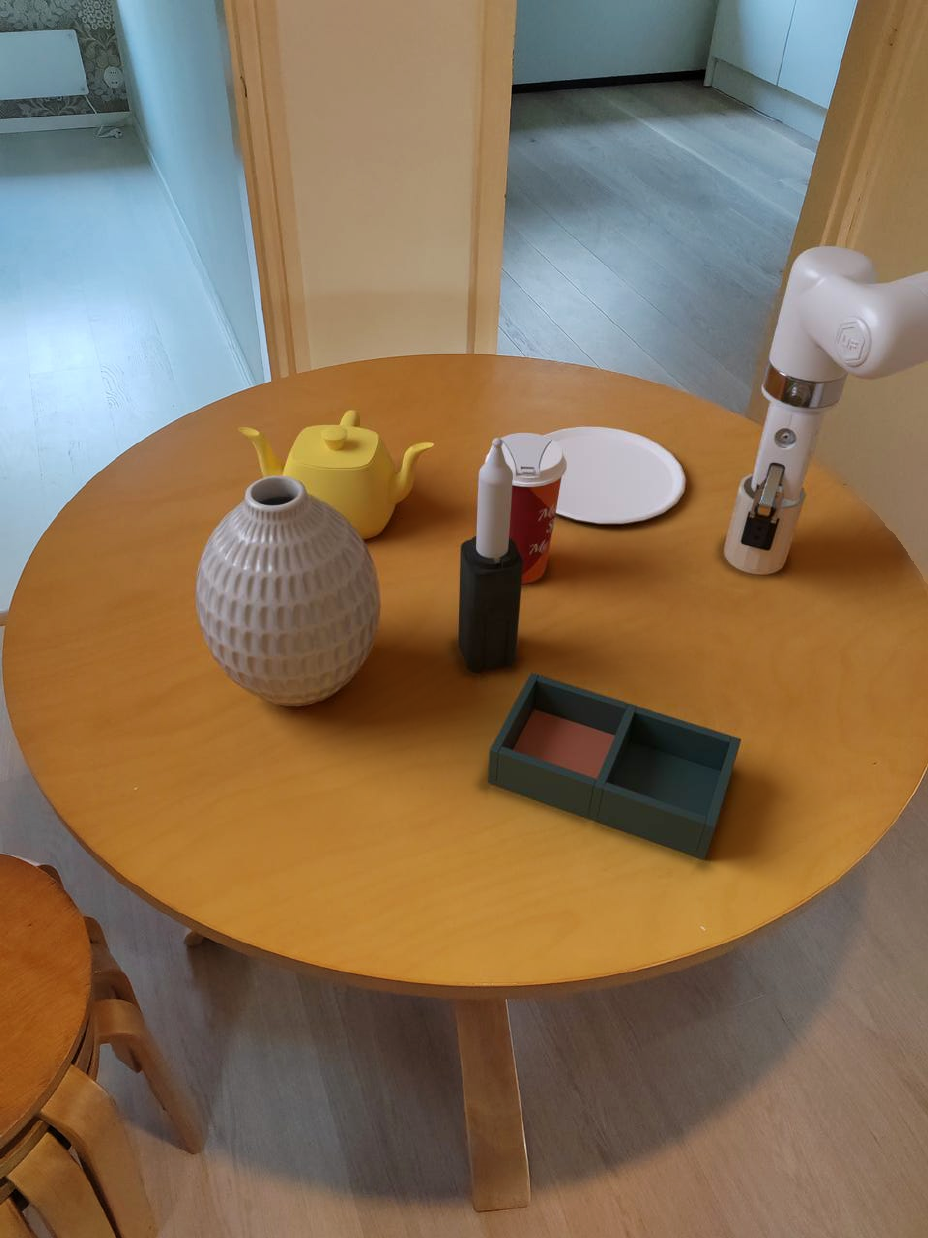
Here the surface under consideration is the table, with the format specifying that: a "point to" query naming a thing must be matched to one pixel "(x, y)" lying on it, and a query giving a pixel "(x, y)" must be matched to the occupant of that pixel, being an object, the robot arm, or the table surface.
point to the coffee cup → (533, 496)
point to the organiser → (614, 763)
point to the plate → (615, 476)
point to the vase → (287, 595)
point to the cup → (776, 556)
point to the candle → (490, 574)
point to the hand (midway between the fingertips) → (763, 523)
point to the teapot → (345, 470)
